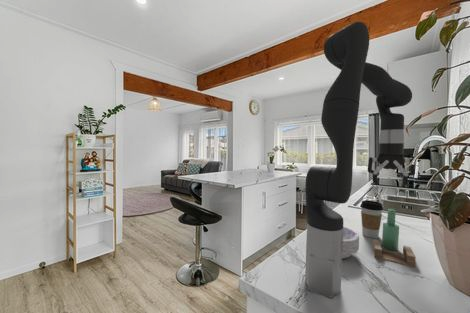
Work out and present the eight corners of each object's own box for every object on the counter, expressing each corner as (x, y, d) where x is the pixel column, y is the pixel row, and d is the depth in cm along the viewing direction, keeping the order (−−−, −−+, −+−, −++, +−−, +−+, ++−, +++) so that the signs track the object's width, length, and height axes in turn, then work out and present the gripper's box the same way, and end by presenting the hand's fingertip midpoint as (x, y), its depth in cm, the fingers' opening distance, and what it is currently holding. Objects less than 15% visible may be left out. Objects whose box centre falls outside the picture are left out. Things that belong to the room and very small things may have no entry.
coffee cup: (357, 235, 93) (358, 201, 92) (361, 229, 99) (363, 198, 98) (380, 241, 87) (381, 205, 86) (383, 235, 93) (385, 201, 92)
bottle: (399, 252, 78) (401, 212, 77) (382, 249, 80) (384, 210, 79) (396, 247, 82) (398, 209, 81) (381, 243, 85) (383, 207, 84)
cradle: (414, 266, 68) (415, 257, 68) (374, 257, 74) (374, 248, 74) (409, 256, 75) (410, 247, 75) (373, 248, 81) (373, 239, 81)
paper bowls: (304, 246, 82) (304, 226, 81) (334, 240, 87) (334, 221, 87) (335, 267, 68) (336, 243, 67) (368, 259, 73) (369, 236, 73)
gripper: (369, 142, 79) (367, 184, 80) (418, 142, 72) (415, 188, 73) (368, 142, 85) (366, 181, 87) (413, 142, 78) (411, 185, 79)
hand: (389, 185), depth 80 cm, fingers open, 8 cm apart
